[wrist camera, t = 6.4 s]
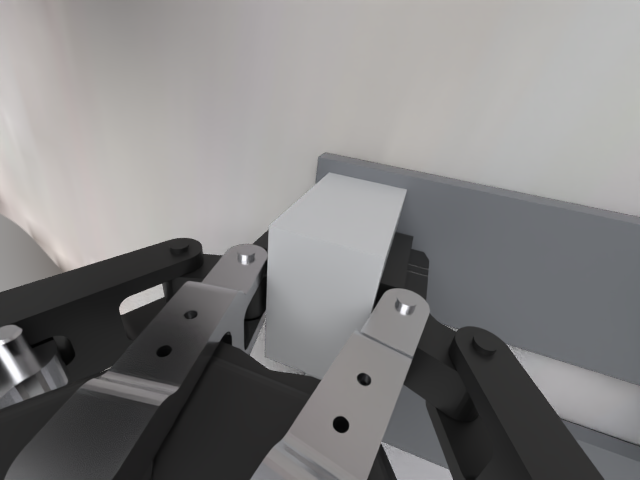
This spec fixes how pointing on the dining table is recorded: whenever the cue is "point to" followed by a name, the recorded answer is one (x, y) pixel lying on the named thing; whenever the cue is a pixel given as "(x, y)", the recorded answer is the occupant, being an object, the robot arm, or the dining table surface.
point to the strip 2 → (421, 440)
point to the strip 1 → (453, 266)
